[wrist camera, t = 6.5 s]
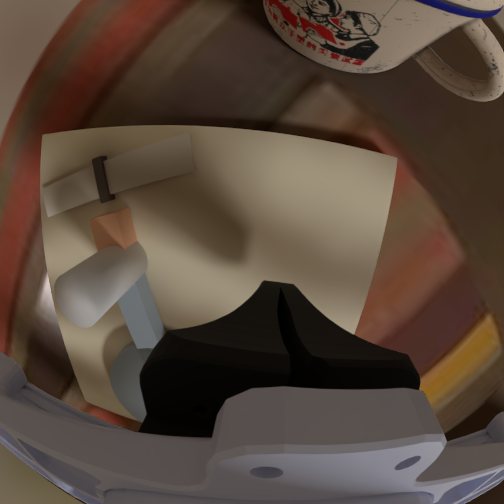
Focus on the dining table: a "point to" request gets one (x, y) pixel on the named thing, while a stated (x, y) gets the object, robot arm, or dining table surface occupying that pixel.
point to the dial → (115, 300)
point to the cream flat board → (212, 224)
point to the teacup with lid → (391, 36)
